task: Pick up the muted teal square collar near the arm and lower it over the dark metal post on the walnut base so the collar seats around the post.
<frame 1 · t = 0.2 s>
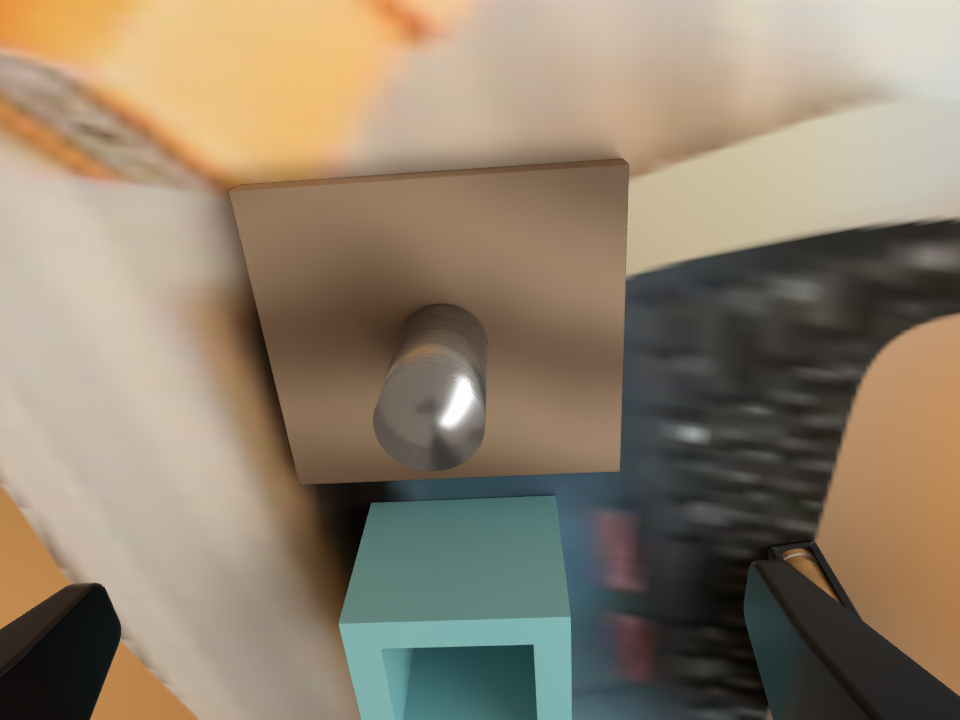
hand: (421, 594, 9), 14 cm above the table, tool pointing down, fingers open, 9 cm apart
collar: (469, 568, 28), on the table
ammunition clip: (789, 628, 29), on the table
post base: (445, 332, 23), on the table
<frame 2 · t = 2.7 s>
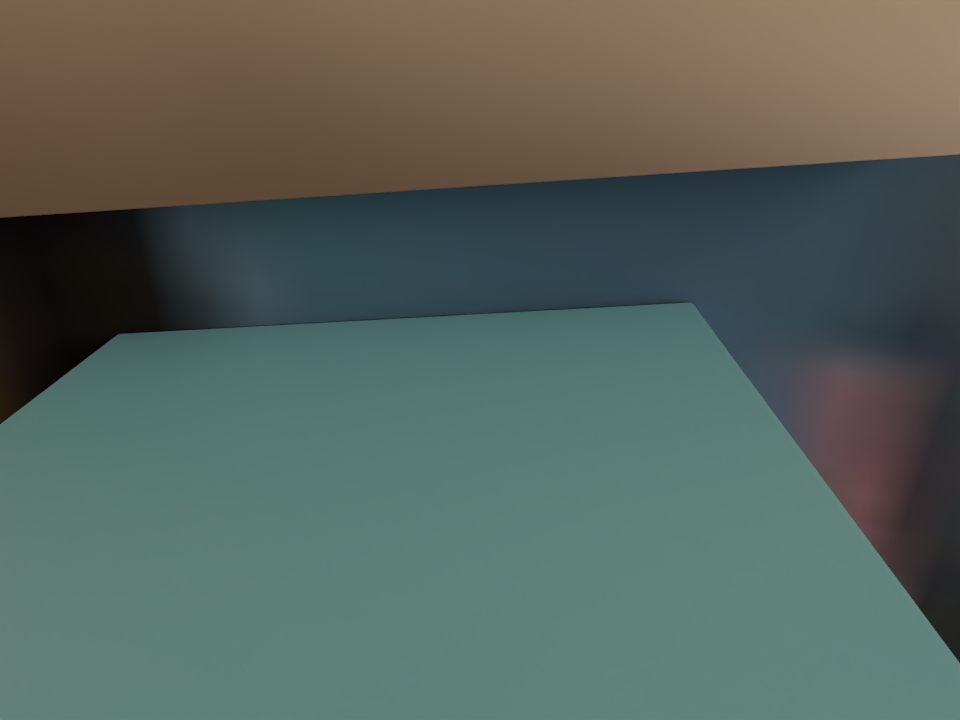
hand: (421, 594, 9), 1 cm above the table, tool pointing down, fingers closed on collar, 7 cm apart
collar: (428, 542, 10), on the table, touching gripper
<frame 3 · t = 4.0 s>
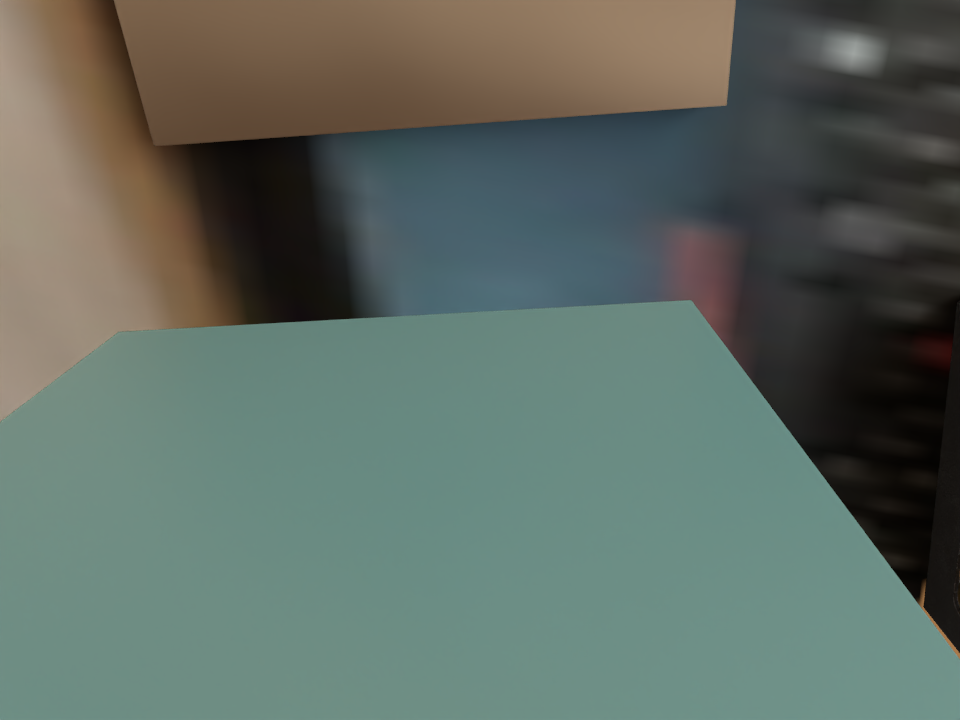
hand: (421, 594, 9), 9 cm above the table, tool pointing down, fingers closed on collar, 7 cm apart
collar: (428, 540, 10), point 8 cm above the table, touching gripper
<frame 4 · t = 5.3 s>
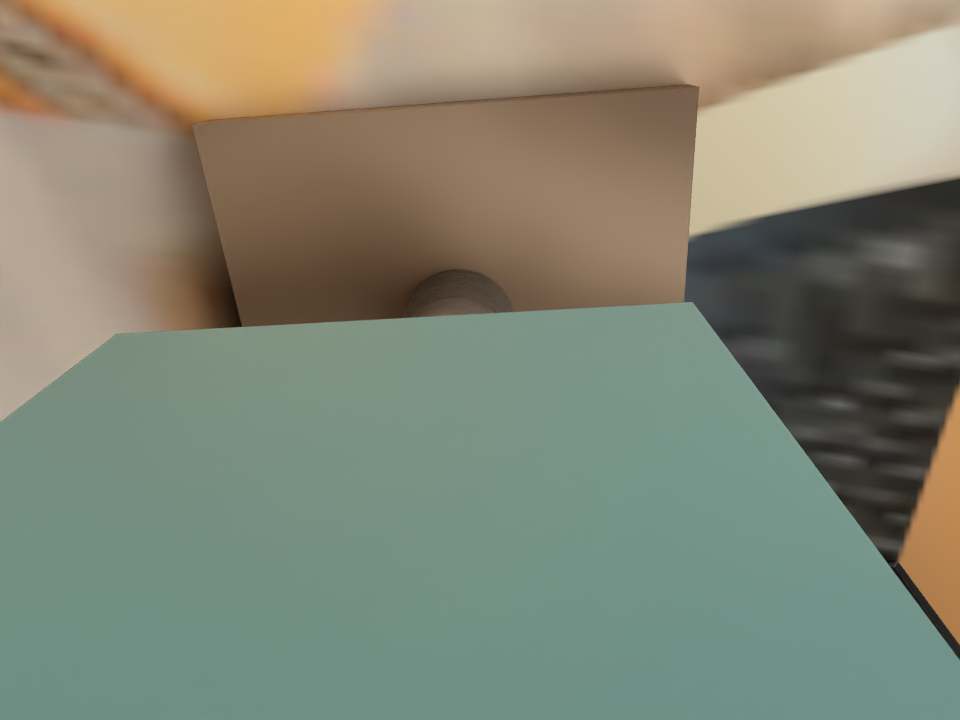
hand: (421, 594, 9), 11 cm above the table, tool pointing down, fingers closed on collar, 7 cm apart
collar: (427, 543, 10), point 10 cm above the table, touching gripper
ammunition clip: (860, 663, 25), on the table
post base: (461, 308, 19), on the table
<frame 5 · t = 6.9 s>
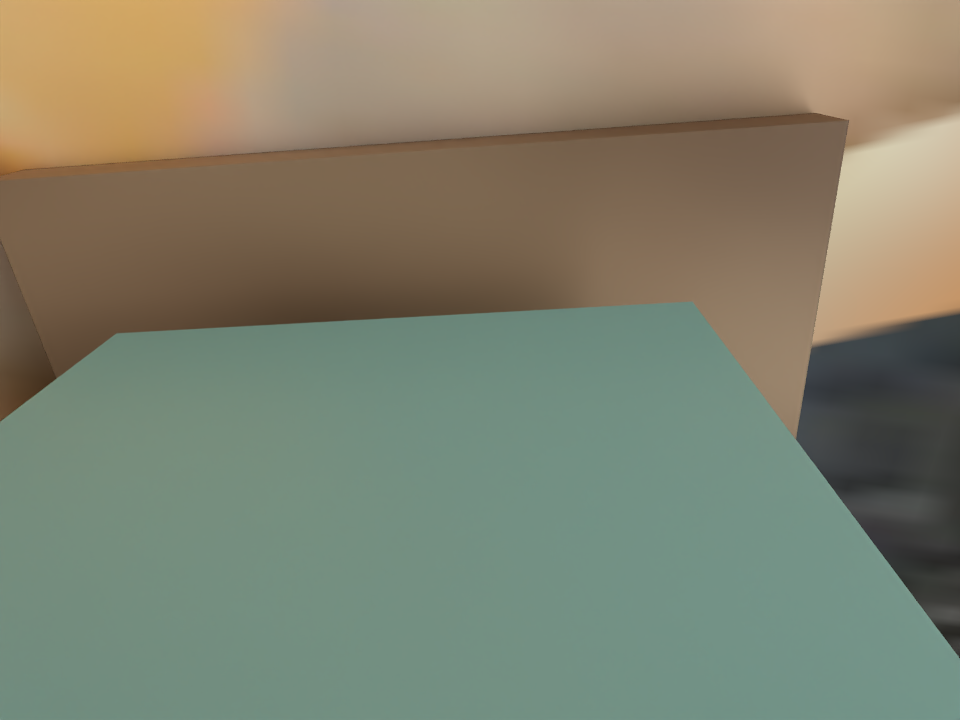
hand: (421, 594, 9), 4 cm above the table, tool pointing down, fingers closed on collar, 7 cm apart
collar: (427, 542, 10), point 3 cm above the table, touching gripper
post base: (441, 448, 12), on the table
when the fingers open (3 cm above the table, at t = 8.1 s): collar drops 2 cm, resting on post base.
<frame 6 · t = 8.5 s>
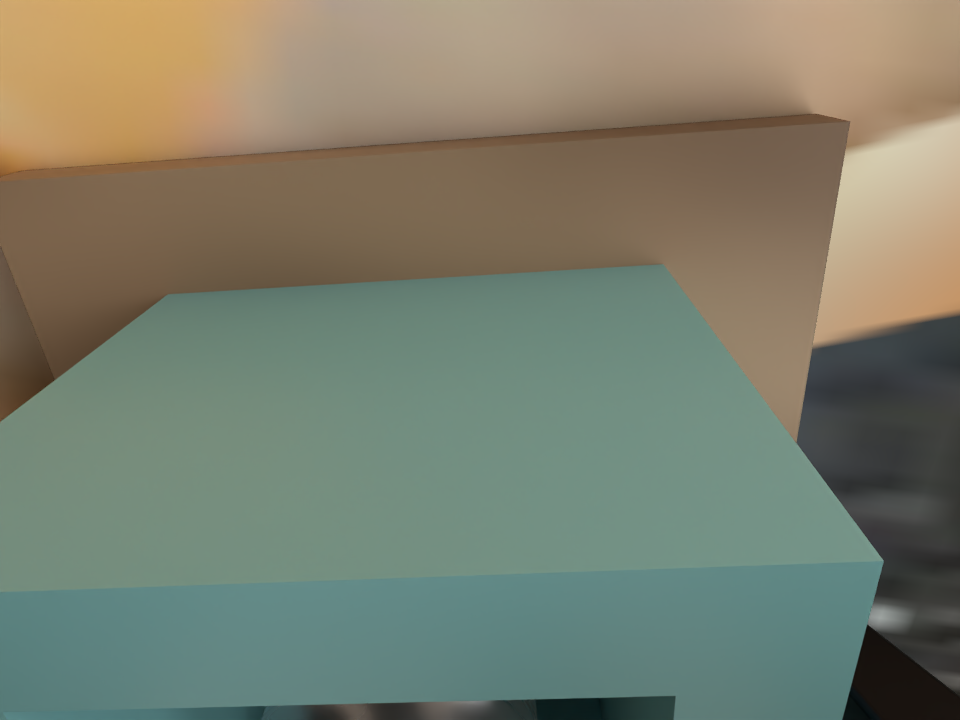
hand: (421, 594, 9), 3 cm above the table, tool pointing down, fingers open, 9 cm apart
collar: (435, 482, 11), point 1 cm above the table, touching post base
post base: (441, 450, 12), on the table
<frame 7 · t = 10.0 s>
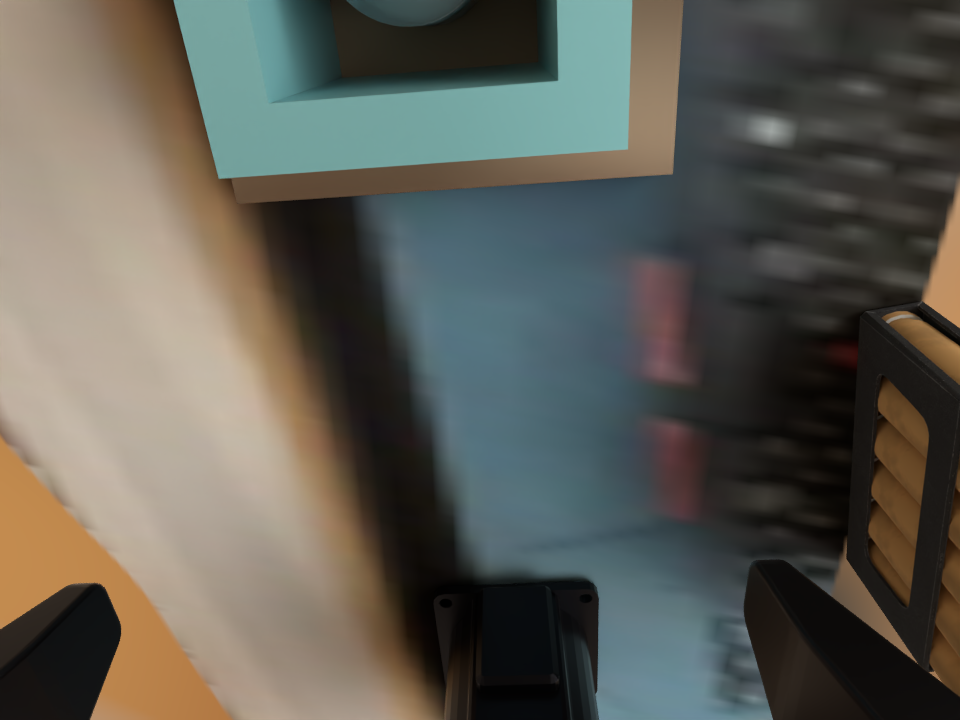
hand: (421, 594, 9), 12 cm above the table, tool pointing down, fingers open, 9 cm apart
ammunition clip: (877, 440, 23), on the table
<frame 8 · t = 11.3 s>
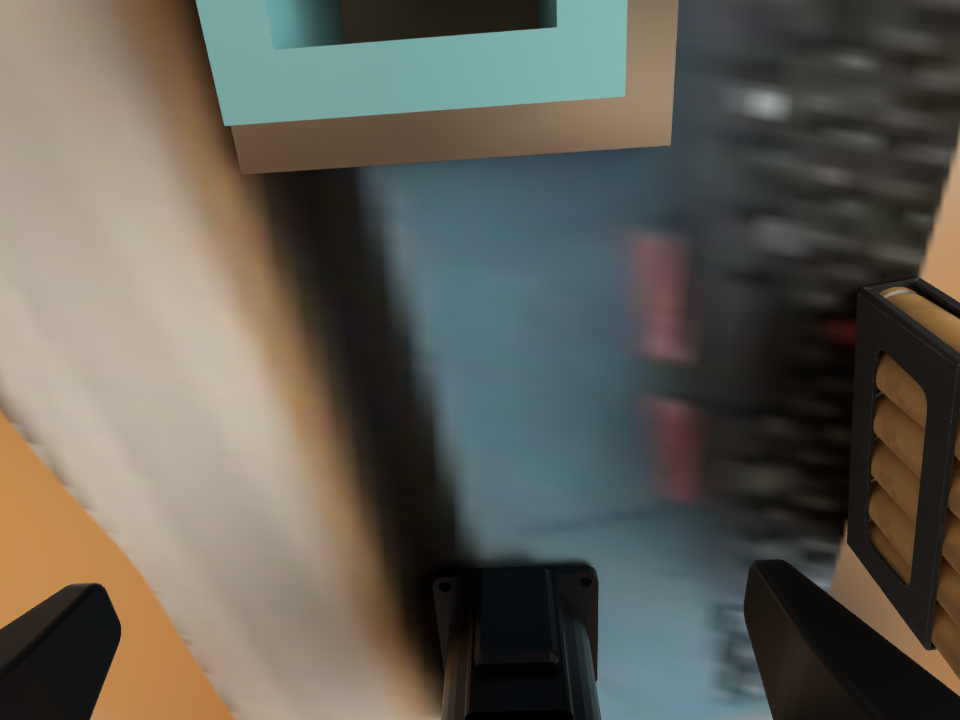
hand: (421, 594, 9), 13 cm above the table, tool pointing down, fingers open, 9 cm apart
ammunition clip: (876, 421, 23), on the table
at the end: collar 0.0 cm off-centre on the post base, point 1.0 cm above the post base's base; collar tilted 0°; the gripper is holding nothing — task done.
